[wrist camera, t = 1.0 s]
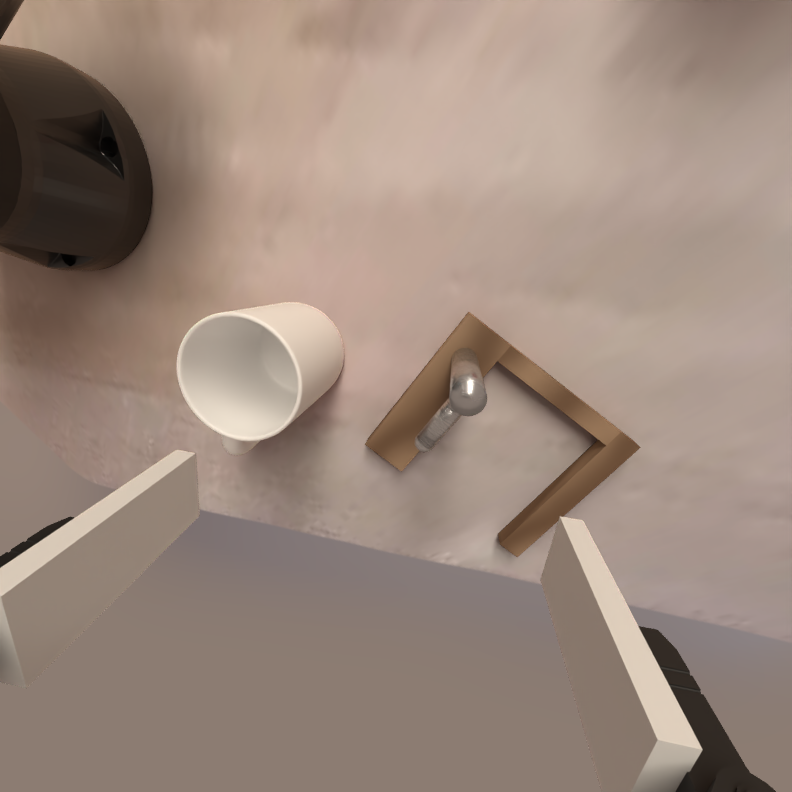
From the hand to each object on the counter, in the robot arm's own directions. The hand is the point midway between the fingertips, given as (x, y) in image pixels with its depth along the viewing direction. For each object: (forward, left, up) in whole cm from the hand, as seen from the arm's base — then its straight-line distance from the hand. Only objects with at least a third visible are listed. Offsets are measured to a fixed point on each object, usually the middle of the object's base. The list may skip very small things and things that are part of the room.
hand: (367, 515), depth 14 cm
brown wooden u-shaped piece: (+8, 0, -20) cm, 22 cm away
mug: (-9, -6, -20) cm, 23 cm away
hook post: (+2, +2, -18) cm, 19 cm away
